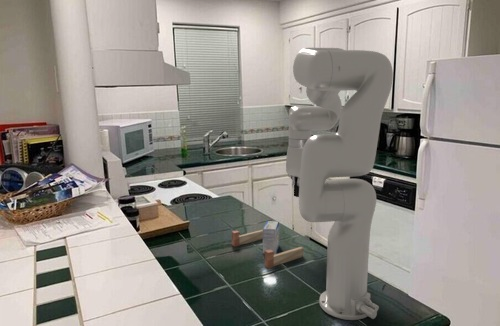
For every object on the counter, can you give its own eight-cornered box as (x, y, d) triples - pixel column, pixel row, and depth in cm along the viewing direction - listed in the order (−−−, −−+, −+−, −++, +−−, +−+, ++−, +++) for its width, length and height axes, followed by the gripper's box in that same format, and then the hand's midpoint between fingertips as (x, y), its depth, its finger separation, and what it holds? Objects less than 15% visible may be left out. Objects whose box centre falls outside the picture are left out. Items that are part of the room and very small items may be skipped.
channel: (303, 257, 117) (303, 242, 116) (268, 268, 109) (268, 252, 108) (264, 236, 134) (264, 223, 133) (231, 245, 126) (231, 231, 125)
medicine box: (276, 255, 118) (276, 229, 117) (262, 254, 119) (262, 228, 118) (279, 245, 126) (279, 221, 124) (266, 244, 127) (266, 220, 125)
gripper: (323, 145, 119) (322, 199, 122) (293, 140, 131) (293, 189, 135) (306, 147, 115) (305, 203, 118) (277, 141, 127) (276, 192, 131)
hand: (298, 195), depth 126 cm, fingers closed
